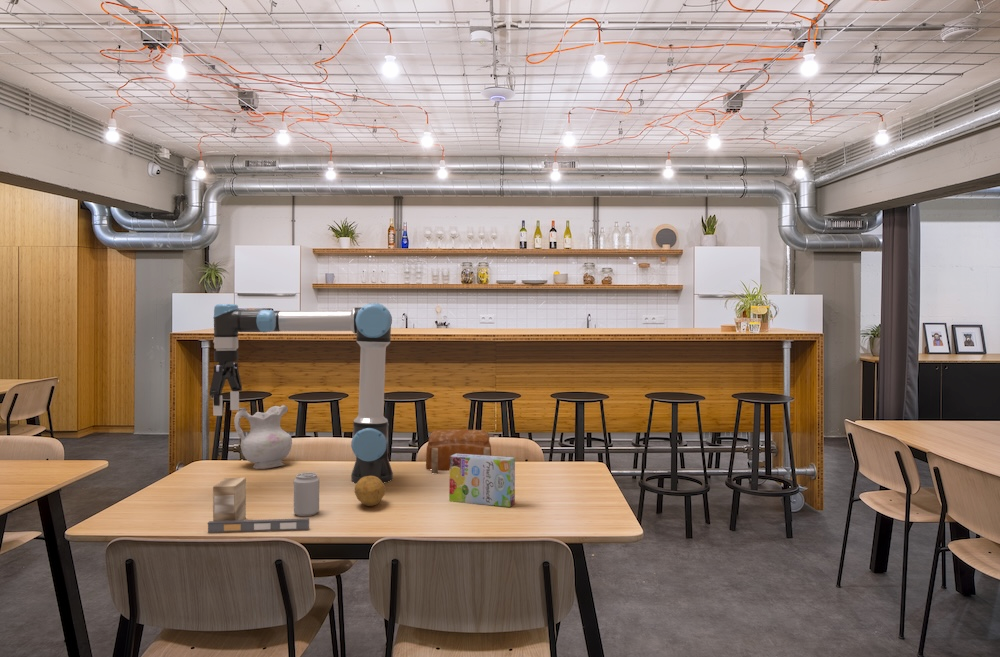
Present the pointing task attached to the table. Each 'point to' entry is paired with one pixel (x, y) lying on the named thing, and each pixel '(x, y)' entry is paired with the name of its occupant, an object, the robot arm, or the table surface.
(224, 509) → the kraft box
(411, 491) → the table surface
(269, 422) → the ceramic pitcher
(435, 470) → the twin upright posts
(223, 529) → the rail
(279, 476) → the table surface
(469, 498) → the snack box
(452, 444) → the bread
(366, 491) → the potato
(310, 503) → the can
